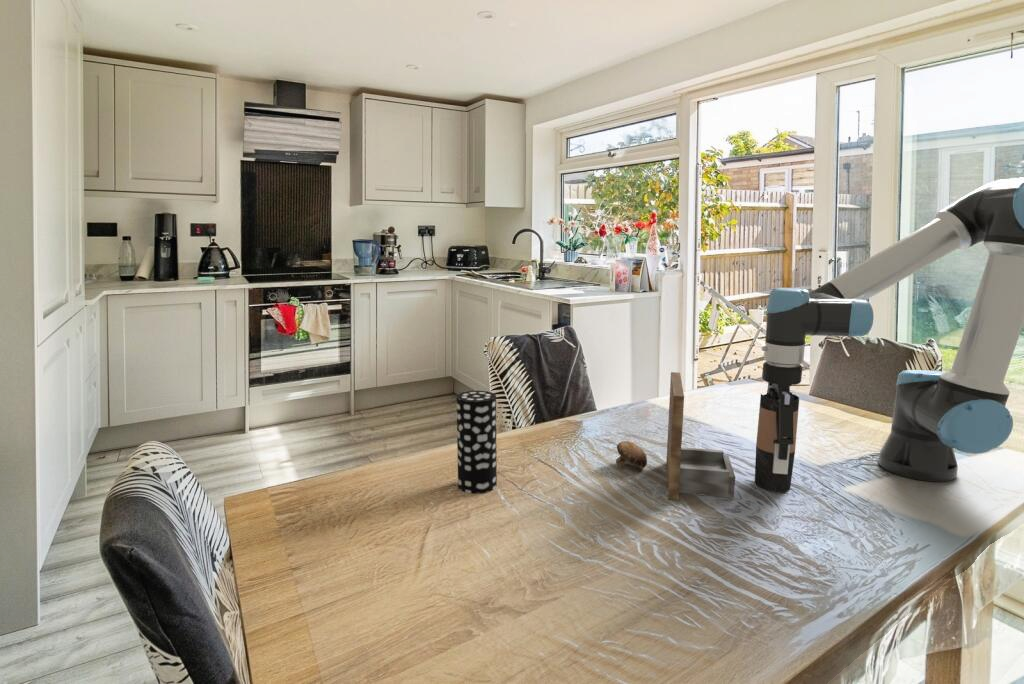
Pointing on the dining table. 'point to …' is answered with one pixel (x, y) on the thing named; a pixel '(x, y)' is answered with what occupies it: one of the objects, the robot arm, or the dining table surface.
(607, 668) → the dining table surface
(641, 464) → the mushroom
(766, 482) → the travel mug
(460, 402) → the white-spotted black cylinder
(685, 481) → the l-shaped stand
